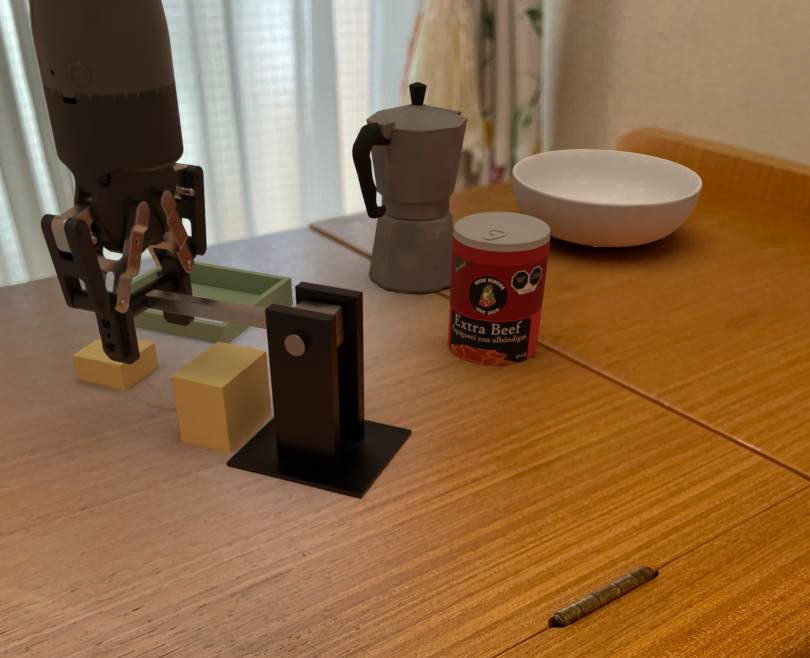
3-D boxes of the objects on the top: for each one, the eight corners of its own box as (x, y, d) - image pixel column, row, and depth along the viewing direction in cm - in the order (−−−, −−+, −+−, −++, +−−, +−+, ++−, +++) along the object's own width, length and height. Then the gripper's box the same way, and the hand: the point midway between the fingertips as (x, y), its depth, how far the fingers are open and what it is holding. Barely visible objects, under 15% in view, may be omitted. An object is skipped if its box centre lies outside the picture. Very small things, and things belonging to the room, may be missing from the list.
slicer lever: (112, 329, 58) (104, 294, 56) (164, 297, 62) (158, 264, 61) (316, 367, 54) (313, 330, 52) (356, 330, 58) (354, 295, 56)
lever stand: (228, 476, 60) (206, 313, 52) (289, 416, 66) (278, 264, 59) (361, 510, 57) (358, 342, 50) (411, 443, 63) (415, 287, 56)
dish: (99, 328, 78) (93, 301, 77) (175, 281, 87) (172, 257, 86) (227, 354, 75) (223, 326, 73) (293, 303, 84) (291, 277, 82)
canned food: (436, 367, 73) (442, 236, 66) (460, 330, 79) (467, 206, 73) (526, 381, 71) (541, 248, 65) (543, 342, 78) (558, 216, 71)
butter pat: (80, 389, 69) (71, 354, 67) (114, 366, 72) (108, 332, 71) (127, 400, 68) (120, 365, 66) (160, 376, 71) (154, 342, 69)
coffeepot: (416, 250, 96) (420, 66, 85) (487, 270, 91) (502, 79, 80) (321, 290, 86) (312, 89, 75) (395, 315, 82) (397, 105, 71)
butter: (182, 452, 62) (170, 376, 58) (226, 413, 66) (217, 340, 63) (231, 464, 61) (222, 387, 57) (273, 424, 65) (266, 350, 62)
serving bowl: (472, 239, 99) (476, 175, 95) (562, 197, 112) (569, 139, 108) (641, 283, 89) (654, 214, 85) (717, 231, 102) (732, 170, 98)
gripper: (129, 50, 57) (166, 296, 67) (-34, 90, 47) (40, 374, 57) (228, 61, 55) (251, 312, 65) (82, 105, 44) (136, 397, 55)
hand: (152, 340), depth 61 cm, fingers closed on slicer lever, 6 cm apart
